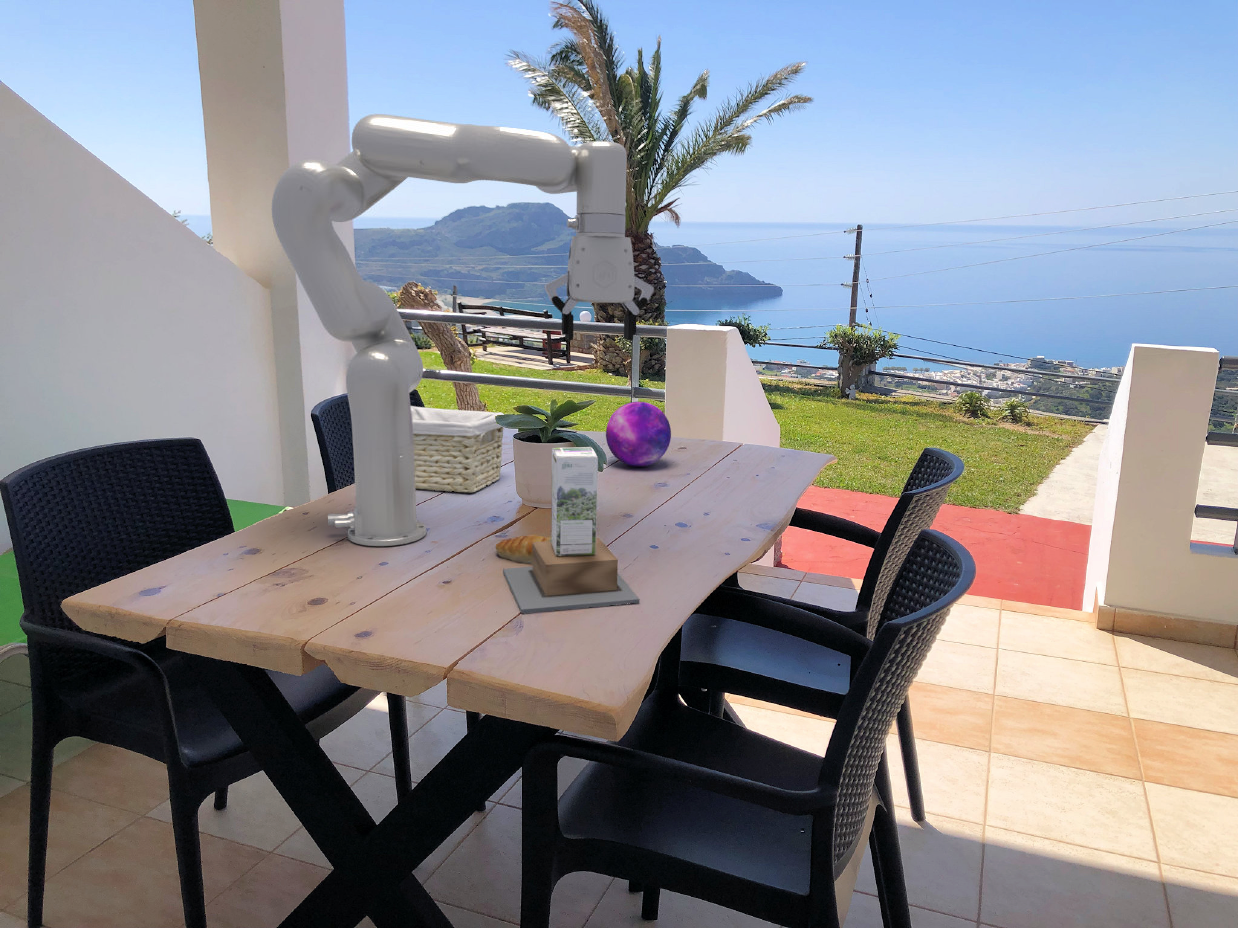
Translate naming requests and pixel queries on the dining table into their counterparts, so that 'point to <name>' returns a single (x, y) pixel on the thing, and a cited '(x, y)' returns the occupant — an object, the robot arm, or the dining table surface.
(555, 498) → the syrup box
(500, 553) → the pastry
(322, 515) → the dining table surface
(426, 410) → the storage basket
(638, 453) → the decorative orb
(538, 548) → the plinth
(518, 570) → the slate mat
